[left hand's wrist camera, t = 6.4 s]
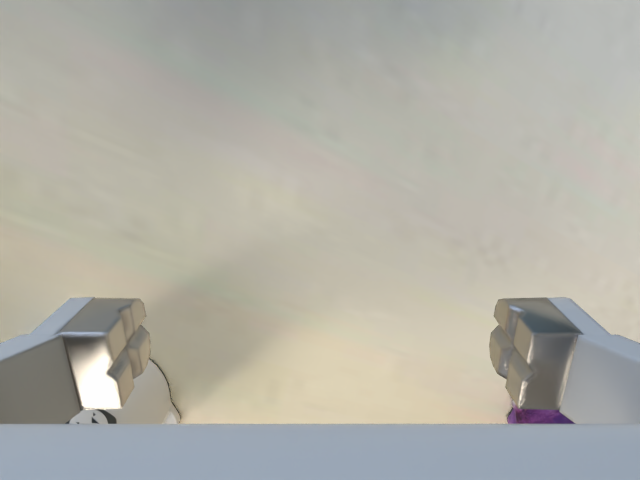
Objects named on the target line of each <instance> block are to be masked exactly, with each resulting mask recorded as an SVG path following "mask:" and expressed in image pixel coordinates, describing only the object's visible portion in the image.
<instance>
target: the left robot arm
mask: <svg viewBox="0 0 640 480" xmlns="http://www.w3.org/2000/svg"><path fill="white" fill-rule="evenodd" d="M145 317H146V312H145V307H144V303H143V302H142V301H141V299H138V298H95V297H85V298H70V299H69V300H68V301H66V302H65V303H64V304H63V305H62V306H61V307H60V308H59V309H58V310H56V311H55V312H54V313H53V314H52V315H51V316H50V317H49V318H47V319H46V320H45V321H44V322H43V323H42V324H41V325H40V326H38V327H37V328H36V329H35V330H34V331H33V332H32V333H31V334H29V335H20V336H18V337H15V338H13V339H10V340H7V341H5V342H2V343H0V480H640V343H638V342H635V341H632V340H630V339H627V338H625V337H622V336H620V335H611V334H609V333H608V332H607V331H606V330H605V329H604V328H603V327H602V326H601V325H599V324H598V323H597V322H596V321H595V320H594V319H593V318H592V317H590V316H589V315H588V314H587V313H586V312H585V311H584V310H583V309H582V308H580V307H579V306H578V305H577V304H576V303H575V302H574V301H573V300H571V299H570V298H566V297H557V298H509V299H499V300H498V302H497V304H496V306H495V312H494V317H495V319H496V320H497V322H498V324H499V325H498V326H497V327H496V328H495V329H494V330H493V331H492V332H491V336H490V344H489V348H490V358H491V361H492V364H493V367H494V368H495V370H496V372H497V374H499V375H500V376H502V377H504V378H505V379H507V381H506V389H507V391H508V392H509V394H510V396H511V397H512V399H513V401H514V402H515V404H516V406H517V407H518V409H541V410H559V412H560V413H562V414H563V415H564V416H566V417H567V418H568V419H570V420H571V421H572V422H574V423H575V424H179V422H180V415H179V413H178V411H177V410H176V408H175V407H174V406H173V404H172V402H171V399H170V392H169V387H168V384H167V381H166V379H165V377H164V375H163V374H162V372H161V371H160V370H159V368H158V367H157V366H156V365H155V364H154V363H153V362H152V361H151V360H149V356H150V336H149V332H148V331H147V330H146V329H145V328H144V327H143V326H142V325H141V324H142V322H143V320H144V319H145Z"/></svg>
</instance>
